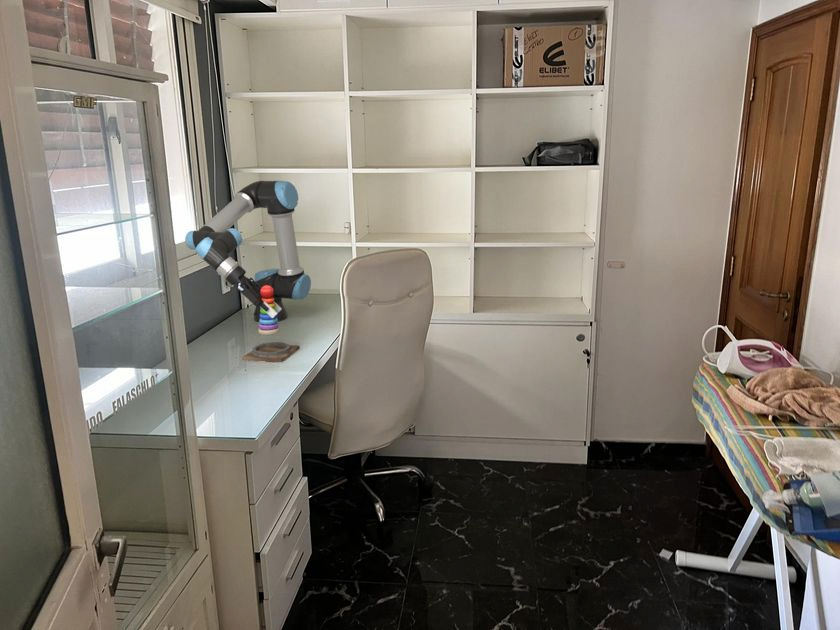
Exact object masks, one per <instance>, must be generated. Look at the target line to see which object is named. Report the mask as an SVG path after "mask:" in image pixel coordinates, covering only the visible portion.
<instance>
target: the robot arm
mask: <svg viewBox="0 0 840 630" xmlns="http://www.w3.org/2000/svg"><path fill="white" fill-rule="evenodd" d="M298 201H299V193H298V191H297V188H296V186H295V185H294V184H293V183H292V182H290V181H285V180H258V181H253V182H251V183H249V184H248V185H246V186H244V187H243V188H241V189H240V190H239V191H237V193H235V194H234V196H233V199H232V201H230V202H229V203H228V204H227V205H226V206H224V207H223V208H222V209H221V210H220V211H218V212H217V213H216V214H215V215H214V216H213V217H212V218H211V219H209V220H208V221H207V222H206V223H205V224H204V225H203V226H202V227H201V228H199V229H198V230H189V231H188V232H187V233H186V234H185V238H184V240H185V244H186V247H187V248H188V249H189V250H193V251H195V253H196V254H197V255H198V256H199V257H200V258H201V259H202V260H204V262H205V263H207V264H208V266H210V267H211V268H212V269H213V270H215V271H216V272H217V275H219V276H222V278H223V279H224V278H225V280H226V282H228V283H229V284H230V285H231V286H234V285H237V288H236V291H238V292H239V293H241V294H242V295H243V296H244V297H245V298H246V299H248V300H249V302H250V303H251V304H253V306H255V309H254V312H253V320H254V321H255V322H258V323H260V322H259V320H260V314H261V312H260V309H261V308H262V309H263V310H264V311H265V312H266V313H267V314H268V315H269V316H270V317H272V318H274V316H275V315H276V314H277V317H276V318H277V319H278V322H279V320H280V321H284V320H286V319H287V318H288V317H287V311H286V308H285V305H284V302H283V300H282V299H288V300H289V299H290V300H294V301H295V300H304V299H306V298H307V296H308V295H309V293H310V290H311V285H312V282H311V281H312V280H311V276H309V275H308V274H307V273H305V271H304V270H305V269H304V267H302V266H301V265H300V260H299V253H298V247H297V241H296V234H295V227H294V221H293V220H294V219H293V214H294V212H296V210H295V208H296V207H297V206H298V203H299V202H298ZM260 208H261V209H266V211H267V214H268V216H270V217H271V219H272V224H273V230H274V237H275V242H276V248H277V255H278V261H279V266H280V268H269V269H263V270H259V271H257V272H256V273H254V278H253V277H249V278H248V277H247V276H246V272H247V271H246V270H245V269H244V268H243V267H242V266H241V265H238V264H239V263H238V262H236V260H235V259H234V258H232V256H230V255H229V254H231V253H232V252H234V251H235V250H236V249H238V248H239V246H240V245H241V244H242V242H243V236H242V234H241V232H240V231H239V230H238V229H236V228H231V227H233V226H234V225H235V224H236V223H237V222H238V221H239V220H240V219H241V218H243V216H245V215H246V213H247V214H248V213H251V212H253V211H254V210H256V209H260ZM265 285H269V286H271V287H272V288H273V289H274V294H273V296H272V298H274V302H273V303H274V304H275V307H274V308H276V311H275V310H274V309H273V308H272V307H271V306H269V305H268V304H267V303H266V302H264V303H263V300H262V298H263V297H262V296H261V293H260V290H261V288H262V287H263V286H265ZM286 317H287V318H286ZM285 318H286V319H285ZM283 319H284V320H283Z"/></svg>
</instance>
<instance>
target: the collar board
mask: <svg viewBox="0 0 840 630" xmlns="http://www.w3.org/2000/svg"><path fill="white" fill-rule="evenodd" d="M300 349H301V345H299V344H289V343H286V342H279V341H272V342H265V343H263V342H262V343H261V344H256V345H255V346H254V347H252V350H251V351H249V352H248V353H246V354H245V355H243V356H242V357H241V361H243V360H252V361H251V362H259V361H265V362H264V363H275V362H282V361H283V362H284V361H286V360H287V359H288V358H289V357H291V356H292V355H293V354H295V353H296V352H297V351H299V350H300ZM290 355H291V356H290ZM286 358H287V359H286ZM253 360H254V361H253ZM283 362H282V363H283Z"/></svg>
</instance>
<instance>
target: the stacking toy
mask: <svg viewBox="0 0 840 630" xmlns="http://www.w3.org/2000/svg"><path fill="white" fill-rule="evenodd" d="M260 293H261V296H262V297H263V298H262V300H263V303H264V302H266V303H267V304H268V305H269V306H271V307H272V308H273V309H274V310H275V311H276V308H274V307H275V304H274V303H273V302H274V298H272V296H273V294H274V289H273V288H272V287H271V286H269V285H265V286H263V287H262V288H261V290H260ZM260 312H261V314H260V320H259V322H258V323H259V324H258V329H257V330H258V333H259V334H260V335H263V336H271V335H277V334H279V332H280V327H279V323H278V322H279V321H278V319H277V318H276V317H277V314H276V315H275V316H274V318H272V317H270V316H269V315H268V314H267V313H266V312H265V311H264V310H263V309H262V308H261V309H260Z"/></svg>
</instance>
